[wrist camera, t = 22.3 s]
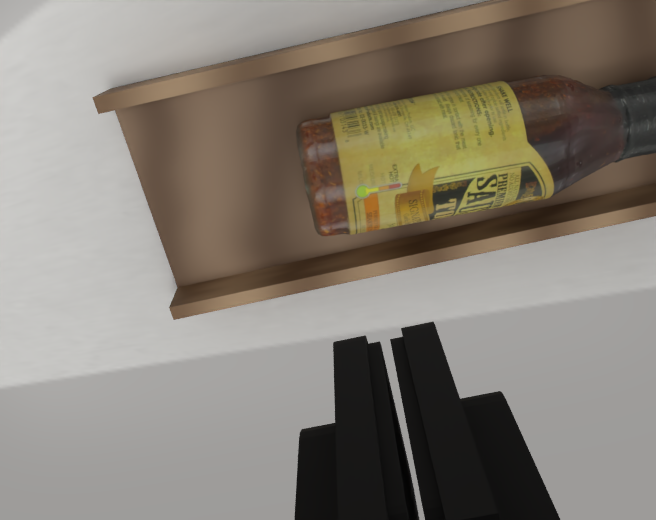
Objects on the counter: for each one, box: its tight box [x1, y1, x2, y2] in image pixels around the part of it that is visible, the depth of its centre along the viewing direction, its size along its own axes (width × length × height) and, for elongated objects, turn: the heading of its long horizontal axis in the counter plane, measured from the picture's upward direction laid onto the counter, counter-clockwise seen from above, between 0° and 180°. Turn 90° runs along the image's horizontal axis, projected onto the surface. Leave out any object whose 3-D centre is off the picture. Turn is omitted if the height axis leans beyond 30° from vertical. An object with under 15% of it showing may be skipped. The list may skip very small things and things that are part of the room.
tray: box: [93, 0, 656, 320], centre depth 33 cm, size 30×13×3 cm, turn 102°
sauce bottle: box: [296, 75, 656, 236], centre depth 30 cm, size 7×6×20 cm
